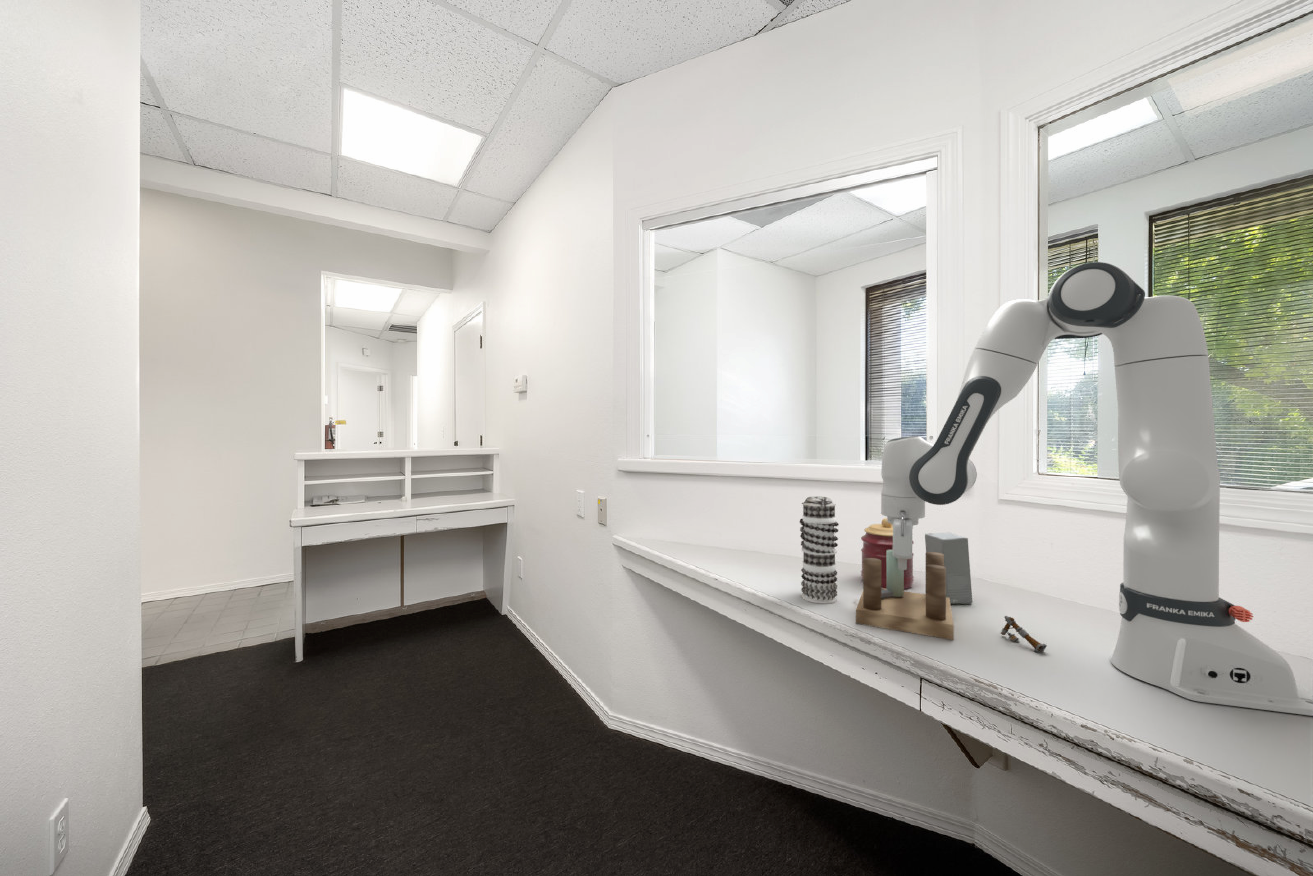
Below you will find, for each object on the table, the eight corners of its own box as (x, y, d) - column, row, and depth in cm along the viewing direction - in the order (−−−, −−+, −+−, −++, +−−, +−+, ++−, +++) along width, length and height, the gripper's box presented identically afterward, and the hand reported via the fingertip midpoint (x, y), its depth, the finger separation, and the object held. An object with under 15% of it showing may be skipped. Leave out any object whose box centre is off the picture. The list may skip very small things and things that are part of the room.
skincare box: (973, 604, 115) (973, 538, 115) (942, 604, 115) (942, 538, 115) (952, 593, 124) (952, 531, 124) (923, 593, 124) (923, 531, 124)
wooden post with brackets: (1001, 629, 99) (1010, 612, 97) (1037, 661, 92) (1047, 644, 90) (994, 630, 98) (1003, 613, 97) (1030, 663, 91) (1039, 645, 90)
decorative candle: (825, 607, 114) (825, 501, 114) (792, 597, 122) (792, 497, 121) (846, 598, 120) (846, 498, 120) (813, 589, 127) (813, 494, 127)
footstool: (949, 610, 112) (949, 552, 112) (953, 640, 96) (953, 572, 96) (864, 598, 120) (864, 544, 120) (855, 623, 105) (855, 561, 104)
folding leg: (894, 590, 115) (894, 549, 115) (907, 595, 112) (907, 552, 112) (864, 595, 112) (864, 552, 112) (876, 600, 109) (876, 556, 109)
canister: (920, 592, 125) (919, 523, 124) (865, 588, 128) (865, 521, 127) (906, 577, 137) (906, 515, 137) (857, 574, 140) (857, 513, 140)
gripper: (920, 516, 98) (919, 584, 99) (917, 502, 117) (916, 559, 117) (885, 514, 101) (885, 579, 102) (888, 501, 120) (887, 556, 120)
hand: (902, 569), depth 109 cm, fingers closed
